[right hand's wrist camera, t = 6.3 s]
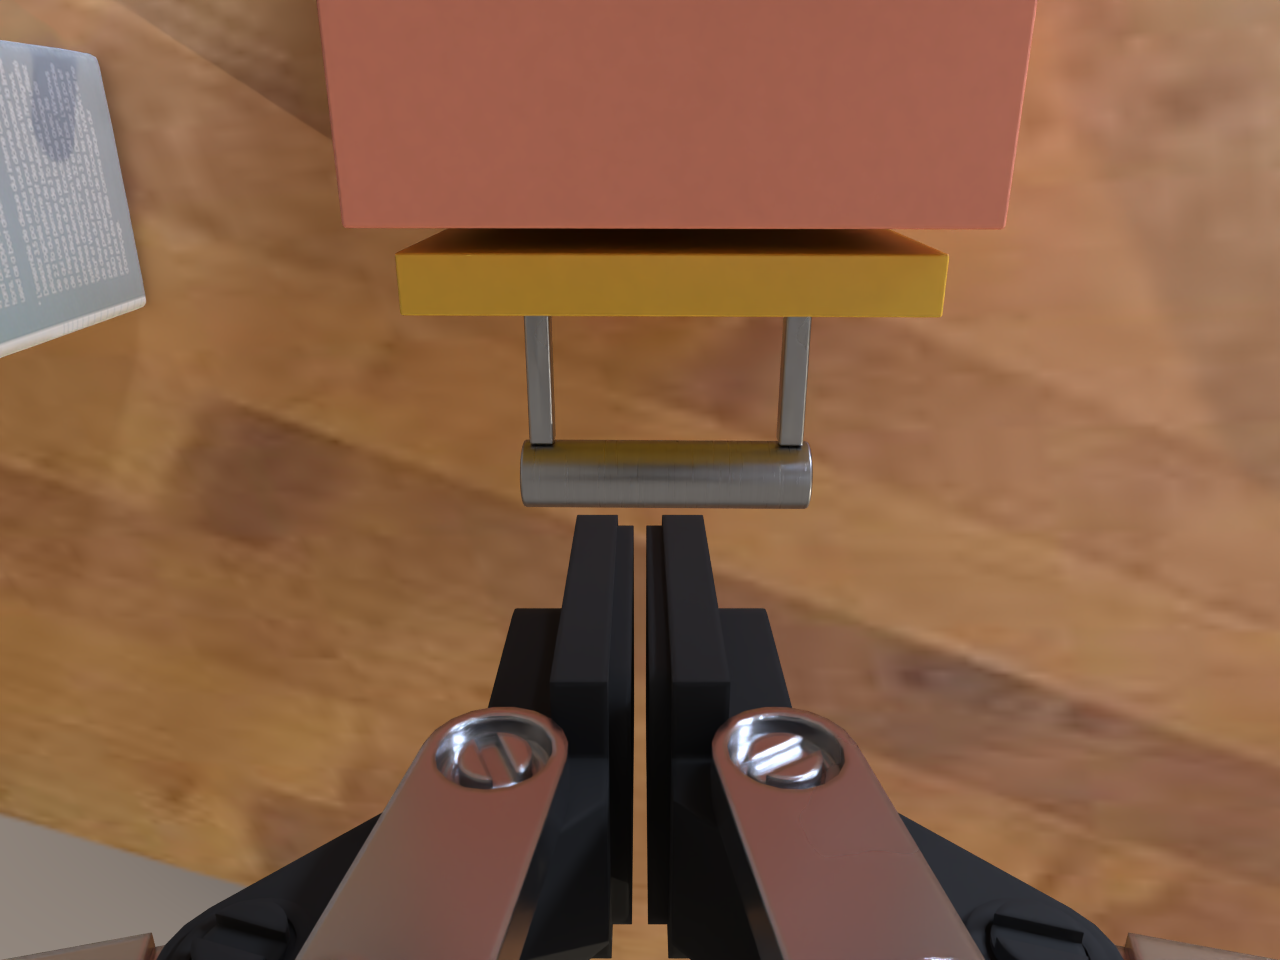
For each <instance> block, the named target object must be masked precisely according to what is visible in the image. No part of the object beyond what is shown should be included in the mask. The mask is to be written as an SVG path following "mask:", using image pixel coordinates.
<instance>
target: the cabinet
mask: <svg viewBox="0 0 1280 960" xmlns="http://www.w3.org/2000/svg"><path fill="white" fill-rule="evenodd" d="M1036 7H1037V0H317V9H318V17H319V26H320V35H321V44H322V52H323V61H324V70H325V78H326V87H327V96H328V105H329V113H330V122H331V131H332V139H333V148H334V157H335V166H336V174H337V183H338V192H339V200H340V209H341V218H342V224H343V226H344V227H346V228H625V229H1003V228H1004V227H1005V225H1006V219H1007V212H1008V205H1009V197H1010V190H1011V183H1012V176H1013V169H1014V162H1015V155H1016V148H1017V141H1018V134H1019V127H1020V120H1021V113H1022V106H1023V99H1024V91H1025V84H1026V77H1027V70H1028V63H1029V56H1030V49H1031V42H1032V35H1033V28H1034V21H1035V14H1036Z"/></svg>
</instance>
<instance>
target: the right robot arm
mask: <svg viewBox="0 0 1280 960" xmlns="http://www.w3.org/2000/svg"><path fill="white" fill-rule="evenodd" d="M633 771H634V527H633V526H618V515H577V519H576V525H575V531H574V537H573V543H572V549H571V555H570V561H569V567H568V573H567V579H566V585H565V591H564V598H563V604H562V608H517V609H515V610H514V613H513V616H512V619H511V623H510V627H509V631H508V634H507V638H506V642H505V646H504V649H503V653H502V657H501V661H500V664H499V668H498V672H497V676H496V679H495V683H494V687H493V691H492V695H491V698H490V702H489V706H488V708H486V709H481V710H475V711H471V712H468V713H466V714H463V715H461V716H458V717H455V718H453V719H451V720H449V721H448V722H446V723H445V724H443V725H442V726H440V727H439V728H437V729H436V730H435V731H434V732H433V733H432V734H431V735H430V737H429V738H428V739H427V740H426V741H425V742H424V744H423V745H422V747H421V749H420V750H419V752H418V754H417V755H416V757H415V759H414V760H413V762H412V764H411V765H410V767H409V769H408V771H407V772H406V774H405V776H404V777H403V779H402V781H401V782H400V784H399V786H398V787H397V789H396V791H395V792H394V794H393V796H392V797H391V799H390V801H389V802H388V804H387V806H386V807H385V809H384V811H383V812H382V813H381V814H379V815H377V816H375V817H373V818H372V819H370V820H368V821H366V822H364V823H363V824H361V825H359V826H357V827H355V828H354V829H352V830H350V831H348V832H346V833H344V834H343V835H341V836H339V837H337V838H335V839H334V840H332V841H330V842H328V843H326V844H325V845H323V846H321V847H319V848H317V849H316V850H314V851H312V852H310V853H308V854H306V855H305V856H303V857H301V858H299V859H297V860H296V861H294V862H292V863H290V864H288V865H287V866H285V867H283V868H281V869H279V870H278V871H276V872H274V873H272V874H270V875H269V876H267V877H265V878H263V879H261V880H259V881H258V882H256V883H254V884H252V885H250V886H249V887H247V888H245V889H243V890H241V891H240V892H238V893H236V894H234V895H232V896H231V897H229V898H227V899H225V900H223V901H221V902H220V903H218V904H216V905H214V906H212V907H211V908H209V909H208V910H206V911H205V912H203V913H202V914H200V915H199V916H197V917H196V918H194V919H193V920H191V921H190V922H188V923H187V924H186V925H184V926H183V927H182V928H181V929H180V930H179V931H178V932H177V933H176V934H175V936H174V937H173V938H172V939H171V940H170V941H169V942H168V943H167V944H166V945H163V946H158V947H155V944H154V940H153V936H152V933H147V934H141V935H136V936H130V937H125V938H120V939H114V940H108V941H103V942H97V943H92V944H86V945H81V946H75V947H70V948H65V949H59V950H53V951H48V952H42V953H37V954H32V955H26V956H20V957H15V958H9V959H4V960H589V959H591V958H612V930H613V924H632V868H633ZM646 771H647V869H648V924H667V930H668V958H689V959H691V960H1276V959H1271V958H1265V957H1260V956H1254V955H1249V954H1243V953H1238V952H1232V951H1227V950H1221V949H1216V948H1210V947H1205V946H1199V945H1194V944H1188V943H1183V942H1177V941H1172V940H1166V939H1161V938H1155V937H1150V936H1144V935H1139V934H1133V933H1128V936H1127V940H1126V944H1125V947H1122V946H1117V945H1114V944H1113V943H1112V942H1111V941H1110V940H1109V939H1108V938H1107V937H1106V935H1105V934H1104V933H1103V932H1102V931H1101V930H1100V929H1099V928H1098V927H1097V926H1096V925H1094V924H1093V923H1092V922H1090V921H1089V920H1087V919H1086V918H1084V917H1083V916H1081V915H1080V914H1078V913H1077V912H1075V911H1074V910H1072V909H1071V908H1069V907H1068V906H1066V905H1064V904H1062V903H1060V902H1059V901H1057V900H1055V899H1053V898H1051V897H1049V896H1048V895H1046V894H1044V893H1042V892H1040V891H1039V890H1037V889H1035V888H1033V887H1031V886H1030V885H1028V884H1026V883H1024V882H1022V881H1021V880H1019V879H1017V878H1015V877H1013V876H1011V875H1010V874H1008V873H1006V872H1004V871H1002V870H1001V869H999V868H997V867H995V866H993V865H992V864H990V863H988V862H986V861H984V860H983V859H981V858H979V857H977V856H975V855H974V854H972V853H970V852H968V851H966V850H964V849H963V848H961V847H959V846H957V845H955V844H954V843H952V842H950V841H948V840H946V839H945V838H943V837H941V836H939V835H937V834H936V833H934V832H932V831H930V830H928V829H926V828H925V827H923V826H921V825H919V824H917V823H916V822H914V821H912V820H910V819H908V818H907V817H905V816H903V815H901V814H899V813H898V812H897V811H896V809H895V807H894V806H893V804H892V802H891V801H890V799H889V797H888V796H887V794H886V792H885V791H884V789H883V787H882V786H881V784H880V782H879V781H878V779H877V777H876V776H875V774H874V772H873V771H872V769H871V767H870V765H869V764H868V762H867V760H866V759H865V757H864V755H863V754H862V752H861V750H860V749H859V747H858V745H857V744H856V742H855V741H854V740H853V739H852V738H851V737H850V735H849V734H848V733H847V732H846V731H845V730H844V729H843V728H841V727H840V726H838V725H837V724H835V723H834V722H832V721H831V720H829V719H827V718H825V717H822V716H819V715H817V714H814V713H812V712H809V711H805V710H799V709H794V708H792V706H791V702H790V698H789V695H788V691H787V687H786V683H785V679H784V676H783V672H782V668H781V664H780V661H779V657H778V653H777V649H776V646H775V642H774V638H773V634H772V631H771V627H770V623H769V619H768V616H767V613H766V610H765V609H763V608H718V604H717V598H716V591H715V585H714V579H713V573H712V567H711V561H710V555H709V549H708V543H707V537H706V531H705V525H704V519H703V515H662V526H647V527H646Z"/></svg>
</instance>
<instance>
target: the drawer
mask: <svg viewBox="0 0 1280 960" xmlns="http://www.w3.org/2000/svg"><path fill="white" fill-rule="evenodd" d="M395 262H396V273H397V283H398V294H399V304H400V313H401V315H437V316H524V329H525V350H526V372H527V394H528V415H529V437H530V440H525V441H524V443H523V446H522V451H521V461H520V488H521V497H522V501H523V504H524V506H526V507H617V508H755V509H805V508H807V507H808V505H809V503H810V499H811V492H812V477H813V470H812V455H811V450H810V446H809V444H808V442H806V441H803V435H804V421H805V406H806V392H807V377H808V363H809V348H810V334H811V320H812V317H941V316H942V312H943V304H944V295H945V287H946V279H947V271H948V262H949V255H948V254H946V253H943V252H941V251H939V250H936V249H934V248H932V247H929V246H927V245H925V244H922V243H920V242H918V241H915V240H913V239H910V238H908V237H906V236H903V235H901V234H899V233H896V232H894V231H892V230H889V229H625V228H449V229H446V230H444V231H442V232H440V233H438V234H436V235H434V236H431V237H429V238H427V239H425V240H423V241H421V242H419V243H416V244H414V245H412V246H410V247H408V248H406V249H404V250H402V251H399V252H397V253H395ZM551 316H705V317H783V334H782V351H781V368H780V386H779V403H778V420H777V440H778V441H679V440H554V439H555V436H556V433H555V404H554V376H553V348H552V319H551Z"/></svg>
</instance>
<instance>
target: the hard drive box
mask: <svg viewBox="0 0 1280 960" xmlns="http://www.w3.org/2000/svg"><path fill="white" fill-rule="evenodd" d="M145 304H146V297H145V291H144V286H143V280H142V275H141V270H140V265H139V260H138V255H137V250H136V245H135V240H134V235H133V229H132V224H131V219H130V214H129V208H128V203H127V198H126V194H125V189H124V184H123V179H122V174H121V169H120V164H119V158H118V153H117V148H116V143H115V138H114V133H113V128H112V124H111V119H110V114H109V109H108V105H107V100H106V96H105V91H104V86H103V82H102V77H101V72H100V67H99V64H98V60H97V59H96V57H94V56H92V55H91V54H88V53H82V52H77V51H71V50H65V49H60V48H53V47H45V46H38V45H31V44H24V43H17V42H10V41H2V40H0V358H1V357H4V356H7V355H10V354H13V353H16V352H19V351H22V350H24V349H27V348H30V347H33V346H36V345H39V344H42V343H44V342H47V341H50V340H53V339H55V338H58V337H61V336H64V335H66V334H69V333H72V332H75V331H78V330H80V329H83V328H86V327H89V326H92V325H95V324H97V323H100V322H103V321H106V320H108V319H111V318H114V317H117V316H119V315H122V314H125V313H128V312H131V311H134V310H136V309H139V308H141V307H143V306H144V305H145Z"/></svg>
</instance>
